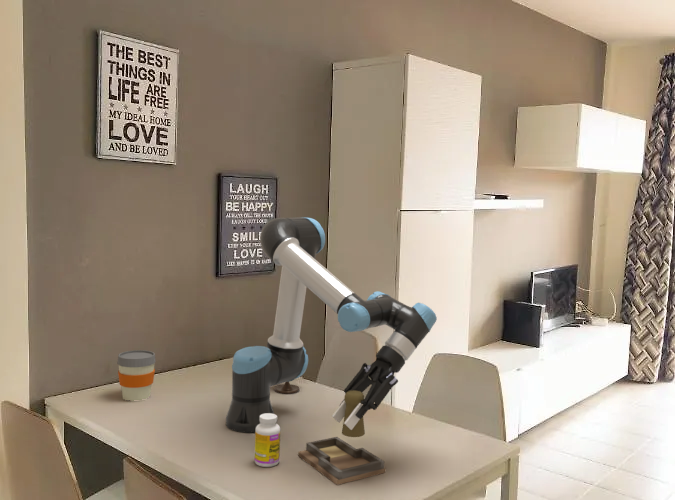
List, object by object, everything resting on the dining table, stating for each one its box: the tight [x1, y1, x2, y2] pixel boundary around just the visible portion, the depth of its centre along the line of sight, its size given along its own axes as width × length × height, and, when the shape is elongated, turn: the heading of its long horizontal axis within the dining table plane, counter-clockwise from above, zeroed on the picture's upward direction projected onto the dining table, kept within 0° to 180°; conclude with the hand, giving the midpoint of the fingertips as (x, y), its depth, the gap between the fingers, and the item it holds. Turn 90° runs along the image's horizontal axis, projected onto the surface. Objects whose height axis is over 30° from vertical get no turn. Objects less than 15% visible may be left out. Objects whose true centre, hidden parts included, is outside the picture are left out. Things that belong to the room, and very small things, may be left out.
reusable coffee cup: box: [116, 349, 157, 402], centre depth 222 cm, size 12×13×15 cm
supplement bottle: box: [254, 413, 281, 468], centre depth 172 cm, size 7×7×13 cm
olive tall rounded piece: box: [341, 390, 366, 438], centre depth 168 cm, size 6×6×11 cm
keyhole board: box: [297, 436, 386, 486], centre depth 173 cm, size 20×15×3 cm
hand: (341, 422), depth 166 cm, fingers closed on olive tall rounded piece, 5 cm apart
